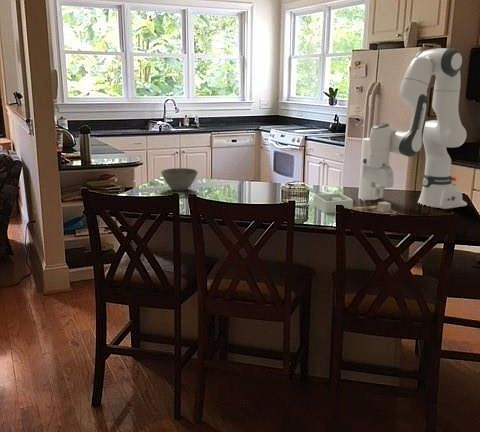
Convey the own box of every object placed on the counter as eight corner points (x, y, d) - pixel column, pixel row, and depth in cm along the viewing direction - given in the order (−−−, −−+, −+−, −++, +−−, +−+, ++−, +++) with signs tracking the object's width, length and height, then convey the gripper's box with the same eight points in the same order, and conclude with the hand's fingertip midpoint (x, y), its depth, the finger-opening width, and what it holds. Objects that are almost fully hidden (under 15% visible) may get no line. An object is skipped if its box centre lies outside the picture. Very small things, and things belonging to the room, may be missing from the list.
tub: (339, 205, 243) (339, 193, 242) (352, 213, 231) (353, 199, 229) (313, 207, 240) (313, 194, 238) (325, 214, 228) (325, 201, 226)
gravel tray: (382, 209, 237) (382, 205, 237) (396, 216, 226) (397, 212, 226) (350, 211, 233) (351, 207, 233) (363, 219, 222) (364, 215, 222)
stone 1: (338, 205, 241) (339, 197, 240) (341, 207, 237) (342, 199, 236) (330, 205, 240) (331, 197, 239) (333, 208, 236) (334, 199, 235)
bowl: (196, 194, 261) (196, 175, 258) (159, 194, 261) (158, 174, 259) (199, 186, 279) (199, 167, 276) (165, 185, 279) (164, 167, 277)
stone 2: (378, 195, 230) (379, 186, 229) (383, 197, 226) (383, 188, 225) (370, 195, 229) (370, 187, 228) (374, 197, 225) (375, 188, 224)
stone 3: (384, 210, 233) (385, 201, 232) (390, 212, 230) (391, 203, 229) (377, 210, 232) (378, 202, 231) (382, 213, 228) (383, 204, 227)
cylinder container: (363, 195, 262) (368, 136, 254) (381, 198, 256) (386, 138, 248) (354, 199, 255) (359, 138, 247) (372, 202, 249) (377, 140, 241)
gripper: (398, 165, 214) (396, 198, 219) (373, 157, 233) (371, 187, 237) (384, 167, 213) (383, 199, 217) (360, 158, 232) (359, 188, 236)
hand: (377, 193), depth 227 cm, fingers closed on stone 2, 4 cm apart
